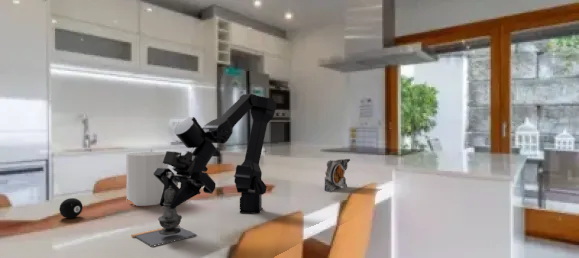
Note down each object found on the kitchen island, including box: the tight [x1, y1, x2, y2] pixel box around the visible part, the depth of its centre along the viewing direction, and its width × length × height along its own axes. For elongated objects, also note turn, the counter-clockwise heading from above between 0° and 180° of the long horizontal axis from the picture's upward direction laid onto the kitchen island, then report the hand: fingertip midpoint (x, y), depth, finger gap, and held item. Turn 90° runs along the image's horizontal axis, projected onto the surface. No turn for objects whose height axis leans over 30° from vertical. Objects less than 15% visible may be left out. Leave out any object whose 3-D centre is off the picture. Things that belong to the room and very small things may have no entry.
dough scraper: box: [130, 224, 198, 247], centre depth 94 cm, size 11×13×1 cm
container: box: [125, 151, 169, 207], centre depth 134 cm, size 14×14×18 cm
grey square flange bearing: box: [324, 158, 351, 193], centre depth 159 cm, size 15×4×13 cm, turn 142°
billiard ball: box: [58, 197, 83, 219], centre depth 111 cm, size 6×6×6 cm
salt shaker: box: [157, 185, 183, 235], centre depth 92 cm, size 6×6×12 cm
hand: (165, 206), depth 91 cm, fingers closed on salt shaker, 4 cm apart
